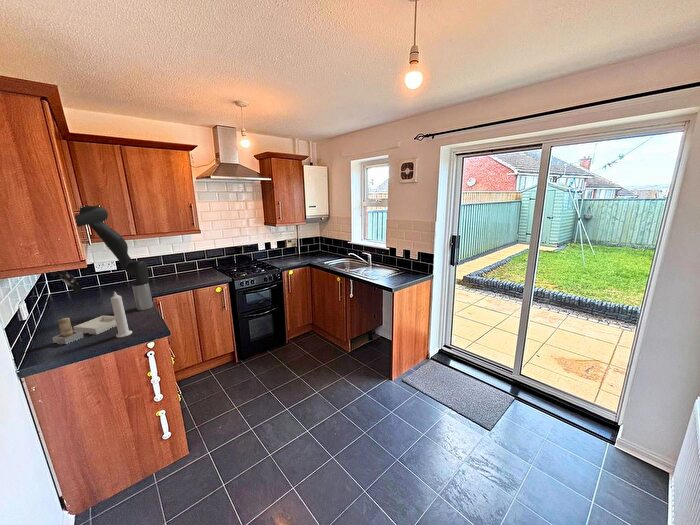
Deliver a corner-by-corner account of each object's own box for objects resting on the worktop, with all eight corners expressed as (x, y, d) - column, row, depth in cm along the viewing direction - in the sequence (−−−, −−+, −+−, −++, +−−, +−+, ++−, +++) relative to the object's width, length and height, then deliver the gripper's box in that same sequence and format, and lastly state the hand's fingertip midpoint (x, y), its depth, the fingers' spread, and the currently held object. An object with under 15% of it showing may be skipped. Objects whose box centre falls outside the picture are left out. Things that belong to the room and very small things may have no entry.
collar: (72, 336, 156) (70, 330, 156) (83, 337, 155) (82, 331, 154) (53, 343, 148) (52, 337, 148) (66, 344, 147) (64, 338, 146)
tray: (104, 320, 176) (102, 315, 175) (124, 322, 173) (123, 316, 172) (74, 332, 161) (73, 326, 160) (96, 334, 157) (95, 328, 157)
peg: (66, 339, 153) (60, 318, 150) (76, 337, 154) (71, 317, 152) (61, 343, 149) (55, 321, 146) (72, 341, 150) (66, 320, 148)
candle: (135, 331, 160) (126, 289, 154) (126, 337, 153) (116, 293, 147) (122, 331, 160) (112, 289, 154) (112, 337, 153) (102, 294, 147)
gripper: (66, 259, 138) (90, 287, 144) (62, 261, 147) (84, 286, 153) (47, 268, 133) (73, 296, 139) (44, 269, 142) (68, 295, 148)
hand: (79, 291), depth 146 cm, fingers open, 8 cm apart
